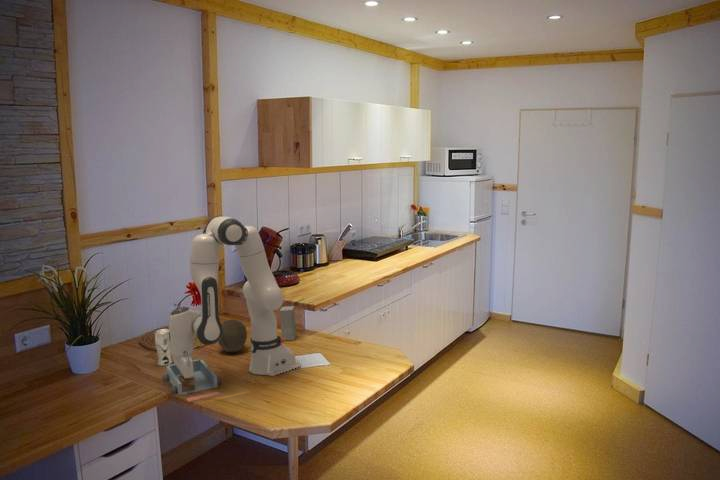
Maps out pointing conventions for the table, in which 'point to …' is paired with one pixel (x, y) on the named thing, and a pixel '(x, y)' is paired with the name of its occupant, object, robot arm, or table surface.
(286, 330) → the skincare box
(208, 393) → the tailgate
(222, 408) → the table surface
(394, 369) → the table surface
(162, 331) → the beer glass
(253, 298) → the robot arm
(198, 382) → the flatbed
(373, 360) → the table surface
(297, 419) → the table surface
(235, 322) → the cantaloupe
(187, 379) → the brown small block
